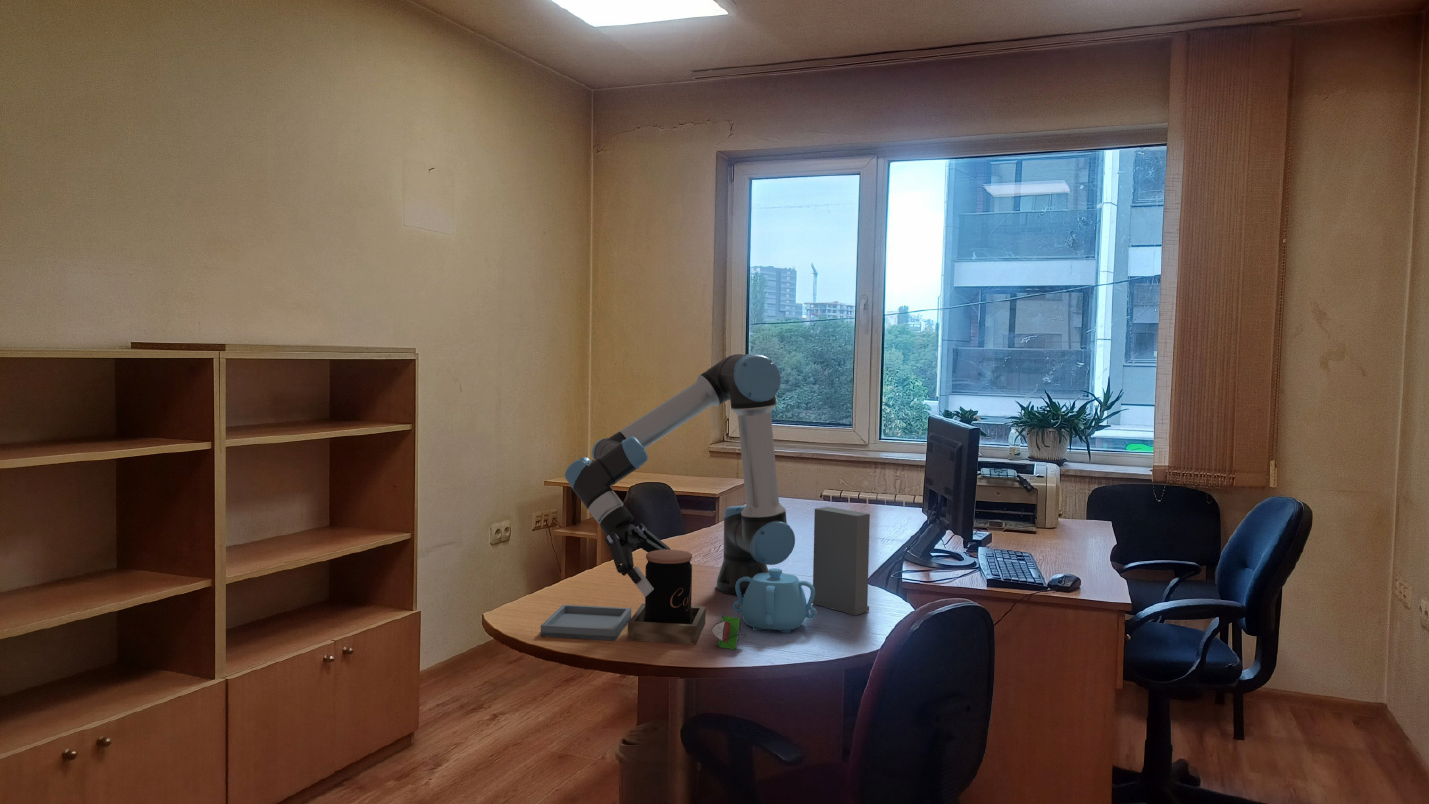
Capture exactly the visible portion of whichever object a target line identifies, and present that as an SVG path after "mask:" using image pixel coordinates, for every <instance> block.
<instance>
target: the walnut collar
mask: <svg viewBox="0 0 1429 804" xmlns="http://www.w3.org/2000/svg"><path fill="white" fill-rule="evenodd" d="M706 608H707V607H706V606H698V605H697V606H696V605H691V624H674V623H656V622H645V603H641V605H640V606H639V607H638V608H637V610H636V612H634V614H633V615H632V616H631V619H630V621H629V622H628V623H627V641H630V642H631V641H635V642H650V643H664V644H665V643H666V644H667V643H670V644H681V645H682V644H683V645H684V644H685V645H697V643H698V641H699V639H700V637H701V634H702V633H703V630H704V627H705V626H706V613H707V612H706V611H707V610H706Z"/></svg>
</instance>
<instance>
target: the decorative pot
mask: <svg viewBox="0 0 1429 804" xmlns="http://www.w3.org/2000/svg"><path fill="white" fill-rule="evenodd" d="M768 571H769V573H758V574H756V575H755V576H754V577H753V578H750V577H742V578H740V579H739V580H738V581H737V582H736V585H735V590H736V594H737V595H736V598H737V599H738V600H735V601H734V603H733V604H732V608H733V610H734V611H735V612H737V613H740V614H741V617H742V619H743V620H744V622H745V624H746V625H748V626H750V627H752V629H753V630H754V631H764V630H765V629H766V630H779V632H780V633H786V634H787V633H791V632H792V630H795V629H798V628H799V627H801V626H802V624H803V623H804V621H805V620H806V618H807V619H813V618H815V617H816V616H817V614H818V613H817V609H816V608H815V607H813V606H812V605H813V604H812V602H813V599H814V596H815V588H814V586H813V583H811V582H809V581H808V580H801V581H800V579H799V578H798V577H797V576H796V575H794V574H788V573H783V570H782V569H780V568H776V567H775V568H773V567H772V568H769V569H768ZM743 581H748V582H750V584H749V586H748V588H747V590H746V592H745V595H742V594H741V591H740V583H741V582H743ZM803 586H804V587H807V588H808V589H810V593H809V594H810V595H809V599H808V601H807V598H806V594H805V591H804V589H803ZM738 605H739V606H738ZM810 611H812V613H810Z"/></svg>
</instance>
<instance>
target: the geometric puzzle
mask: <svg viewBox="0 0 1429 804" xmlns="http://www.w3.org/2000/svg"><path fill="white" fill-rule="evenodd" d="M719 620H721V621H720V622H719V623H717V622H716V624H715V625H714V626H713V627H712V628H711V629H710V630H711V632H712V634H713V636H714V637H716V638H717V639H718V641H715V642H716V644H717V647H718V648H722V649H723V648H724V649H729V650H735V651H736V650H737V648H738V646H740V644H741V643H739V640H741V638H740V637H741V635H742V636H743V638H745V637H746V636H748V635H747V633H746V632H745V631H743V630H741V627H740V624H741V617H734V616H727V615H722V616H721V618H719ZM743 629H745V628H744V626H743ZM739 631H740V632H739ZM741 632H742V633H741ZM738 635H739V636H738ZM742 641H744V639H742ZM742 641H741V642H742ZM738 643H739V645H738Z"/></svg>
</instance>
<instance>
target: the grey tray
mask: <svg viewBox="0 0 1429 804" xmlns="http://www.w3.org/2000/svg"><path fill="white" fill-rule="evenodd" d="M631 618H632V607H619V606H618V607H614V606H601V605H600V606H599V605H598V606H597V605H577V604H562V605H561V606H559V608H558V609H556V611H554V613H552V614H551V615H550V616H549V617H548V618H547V619H546V620H545V621H544V622H543V623H542V624H540V637H542V636H548V637H547V638H564V639H577V640H578V639H579V640H581V639H582V640H593V641H594V640H597V641H598V640H599V641H612V642H613V641H614V642H615V641H616V640H617V638H618V637H619V636H620V635H621V633H622V632H623V630H624V629H625V628H626V626H628V622H629V621H630V619H631Z"/></svg>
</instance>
